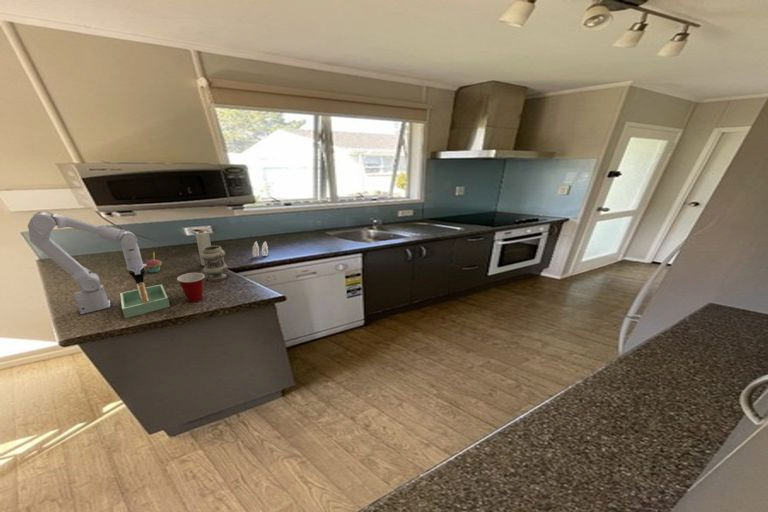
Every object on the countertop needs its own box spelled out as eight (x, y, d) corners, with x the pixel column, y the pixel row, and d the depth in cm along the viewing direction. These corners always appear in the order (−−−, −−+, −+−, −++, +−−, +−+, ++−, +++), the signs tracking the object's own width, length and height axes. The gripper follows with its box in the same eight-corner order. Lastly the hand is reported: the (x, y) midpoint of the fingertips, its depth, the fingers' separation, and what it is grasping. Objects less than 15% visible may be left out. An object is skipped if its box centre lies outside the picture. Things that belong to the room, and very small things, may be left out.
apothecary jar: (206, 275, 165) (201, 245, 159) (230, 272, 170) (225, 243, 164) (203, 283, 154) (197, 251, 149) (228, 280, 159) (223, 249, 153)
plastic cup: (201, 304, 132) (196, 280, 129) (177, 304, 131) (171, 281, 128) (213, 294, 143) (208, 271, 139) (190, 294, 142) (185, 272, 138)
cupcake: (162, 267, 175) (157, 248, 171) (164, 271, 169) (159, 252, 165) (144, 270, 169) (139, 251, 165) (146, 275, 163) (140, 255, 159)
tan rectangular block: (142, 308, 127) (138, 291, 125) (140, 298, 138) (135, 282, 135) (151, 306, 129) (147, 289, 127) (147, 296, 140) (143, 281, 137)
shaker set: (254, 259, 192) (252, 243, 188) (250, 258, 194) (248, 242, 191) (270, 255, 201) (268, 239, 198) (266, 253, 203) (264, 238, 200)
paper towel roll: (200, 264, 181) (193, 231, 175) (210, 262, 186) (204, 230, 179) (204, 267, 177) (197, 233, 170) (214, 265, 181) (208, 232, 174)
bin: (124, 318, 120) (122, 309, 118) (122, 301, 133) (120, 293, 132) (170, 306, 130) (168, 297, 128) (163, 292, 143) (161, 284, 142)
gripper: (145, 259, 130) (152, 286, 134) (142, 252, 140) (149, 277, 144) (125, 263, 125) (133, 290, 130) (123, 255, 135) (131, 281, 140)
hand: (140, 284), depth 137 cm, fingers closed
